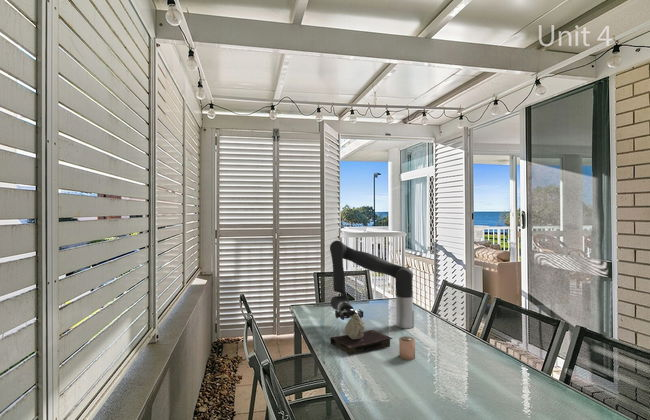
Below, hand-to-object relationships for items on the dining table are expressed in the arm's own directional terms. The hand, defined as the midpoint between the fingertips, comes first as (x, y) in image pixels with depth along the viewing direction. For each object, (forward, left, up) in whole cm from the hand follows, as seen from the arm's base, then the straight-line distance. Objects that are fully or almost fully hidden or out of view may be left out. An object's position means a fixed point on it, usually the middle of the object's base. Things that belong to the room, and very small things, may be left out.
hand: (351, 317), depth 186 cm
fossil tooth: (-1, +1, -9) cm, 9 cm away
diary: (-4, +3, -14) cm, 15 cm away
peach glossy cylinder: (-21, +20, -13) cm, 32 cm away
